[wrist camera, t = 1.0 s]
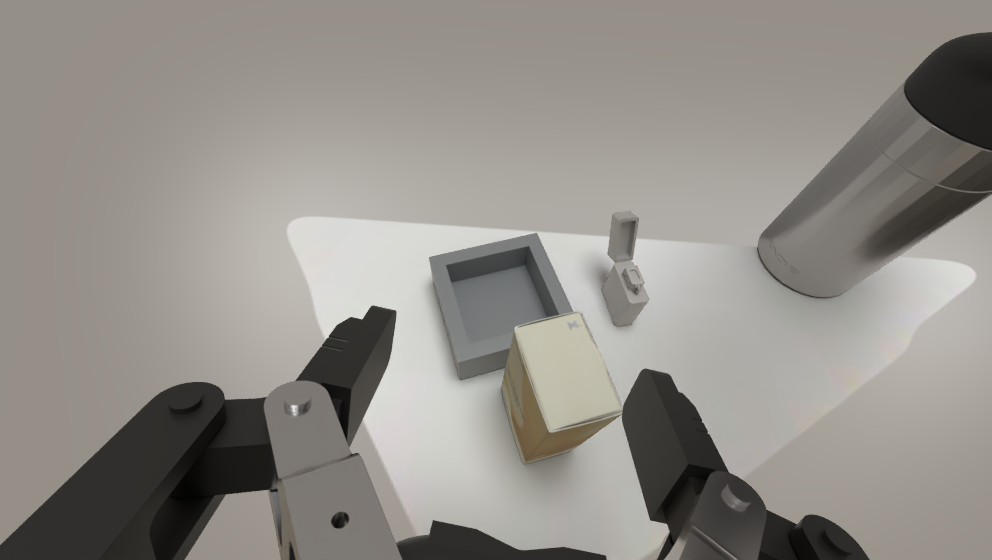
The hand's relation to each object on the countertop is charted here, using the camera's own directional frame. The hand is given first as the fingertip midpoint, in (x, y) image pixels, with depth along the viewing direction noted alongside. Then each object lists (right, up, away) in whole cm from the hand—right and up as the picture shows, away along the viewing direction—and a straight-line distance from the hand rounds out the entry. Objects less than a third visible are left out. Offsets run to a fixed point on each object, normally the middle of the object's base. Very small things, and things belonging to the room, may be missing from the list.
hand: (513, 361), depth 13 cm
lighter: (+10, +1, +26) cm, 28 cm away
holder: (0, 0, +24) cm, 24 cm away
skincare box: (+3, -9, +19) cm, 21 cm away
